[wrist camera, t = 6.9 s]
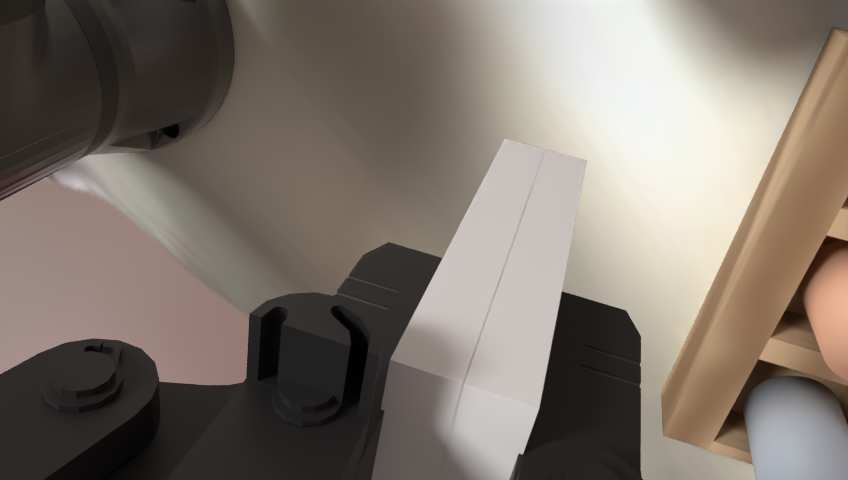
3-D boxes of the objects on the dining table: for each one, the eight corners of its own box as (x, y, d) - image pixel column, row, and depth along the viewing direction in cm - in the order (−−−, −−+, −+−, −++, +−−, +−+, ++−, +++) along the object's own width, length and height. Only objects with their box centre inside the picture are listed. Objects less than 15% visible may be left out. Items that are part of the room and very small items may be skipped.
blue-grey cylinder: (729, 427, 41) (741, 505, 36) (764, 364, 38) (783, 439, 33) (815, 454, 40) (841, 538, 35) (857, 392, 38) (891, 473, 33)
